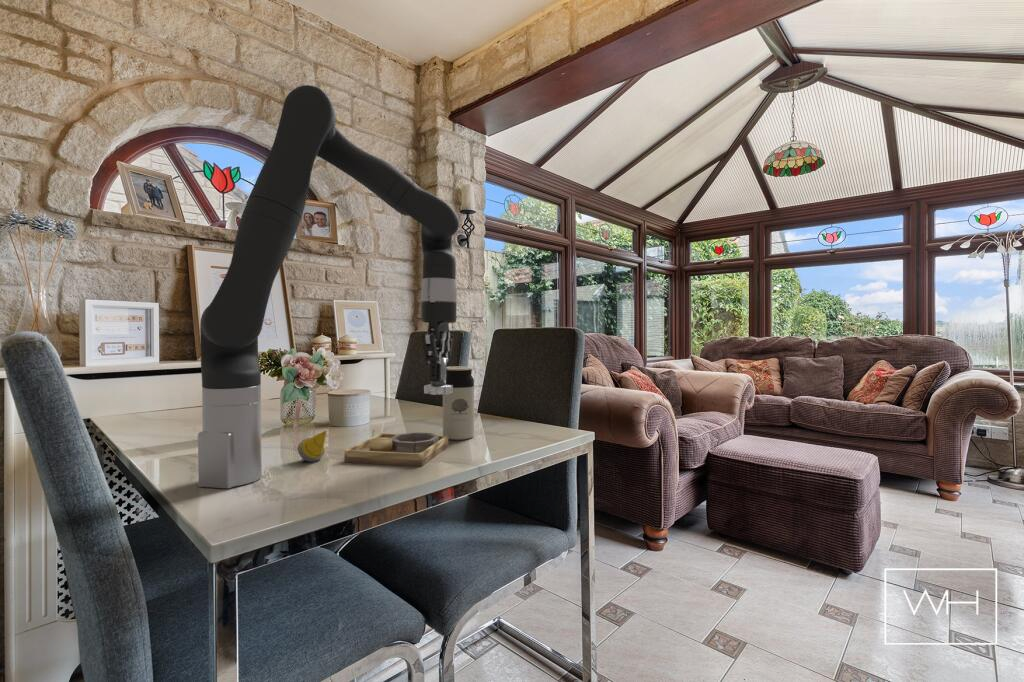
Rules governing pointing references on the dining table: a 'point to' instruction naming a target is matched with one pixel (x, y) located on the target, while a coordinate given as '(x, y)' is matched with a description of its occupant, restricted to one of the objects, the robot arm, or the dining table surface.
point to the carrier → (397, 449)
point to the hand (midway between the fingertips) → (438, 380)
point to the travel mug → (459, 404)
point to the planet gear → (439, 383)
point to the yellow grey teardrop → (312, 448)
